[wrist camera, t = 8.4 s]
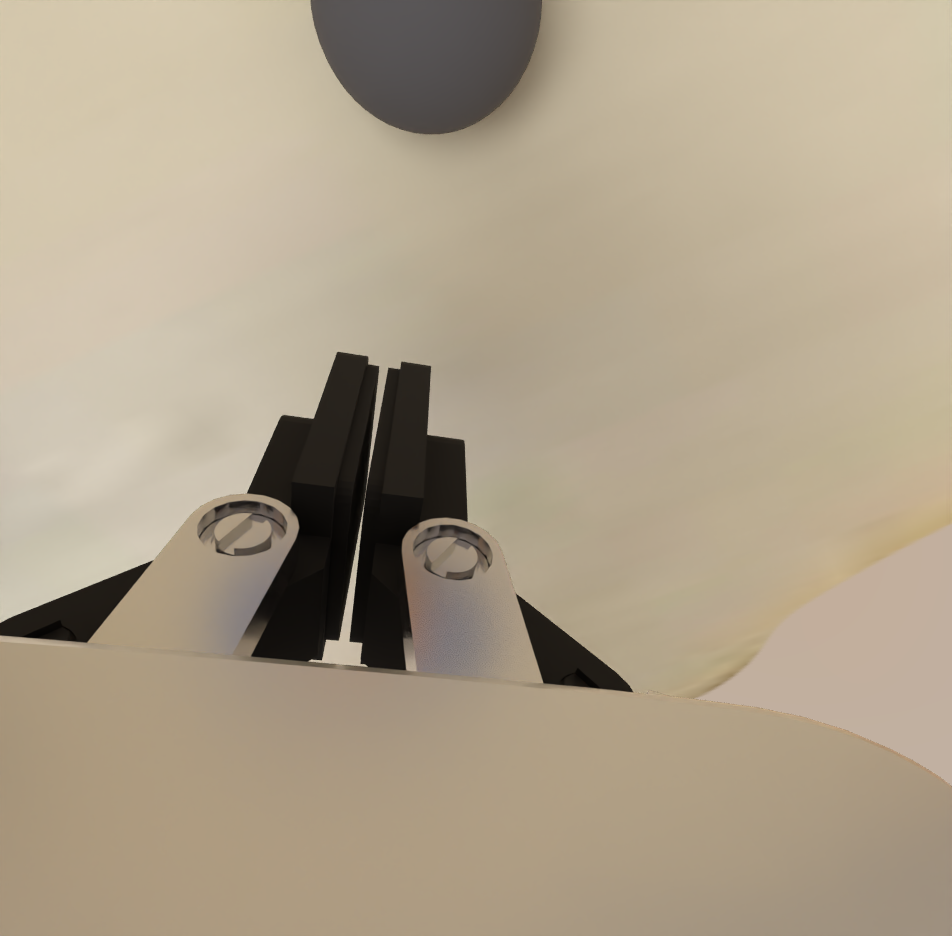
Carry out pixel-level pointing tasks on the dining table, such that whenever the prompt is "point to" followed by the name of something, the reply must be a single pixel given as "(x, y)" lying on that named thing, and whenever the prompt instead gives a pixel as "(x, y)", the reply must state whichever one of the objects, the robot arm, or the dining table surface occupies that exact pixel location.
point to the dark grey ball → (428, 56)
